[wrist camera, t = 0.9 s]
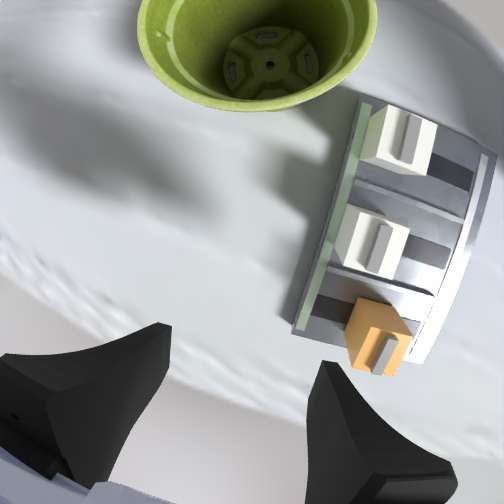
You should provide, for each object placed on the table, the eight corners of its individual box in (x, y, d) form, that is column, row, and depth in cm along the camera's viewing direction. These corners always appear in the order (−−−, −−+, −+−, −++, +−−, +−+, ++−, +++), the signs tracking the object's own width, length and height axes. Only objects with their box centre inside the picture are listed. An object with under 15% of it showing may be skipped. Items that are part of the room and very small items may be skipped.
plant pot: (191, 21, 17) (136, -44, 9) (330, 1, 16) (344, -79, 7) (206, 147, 19) (144, 133, 11) (357, 129, 18) (401, 100, 9)
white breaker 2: (387, 216, 17) (413, 230, 13) (374, 258, 18) (395, 283, 14) (346, 202, 18) (362, 213, 13) (333, 245, 18) (344, 268, 14)
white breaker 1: (410, 132, 16) (441, 123, 12) (400, 174, 17) (429, 176, 12) (369, 117, 16) (391, 102, 12) (359, 159, 17) (378, 156, 13)
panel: (488, 154, 16) (502, 154, 15) (416, 355, 21) (424, 368, 19) (358, 98, 17) (364, 91, 15) (291, 325, 21) (290, 338, 20)
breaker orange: (394, 306, 19) (416, 341, 14) (378, 341, 19) (395, 381, 15) (358, 296, 19) (372, 331, 15) (343, 332, 20) (353, 373, 15)
